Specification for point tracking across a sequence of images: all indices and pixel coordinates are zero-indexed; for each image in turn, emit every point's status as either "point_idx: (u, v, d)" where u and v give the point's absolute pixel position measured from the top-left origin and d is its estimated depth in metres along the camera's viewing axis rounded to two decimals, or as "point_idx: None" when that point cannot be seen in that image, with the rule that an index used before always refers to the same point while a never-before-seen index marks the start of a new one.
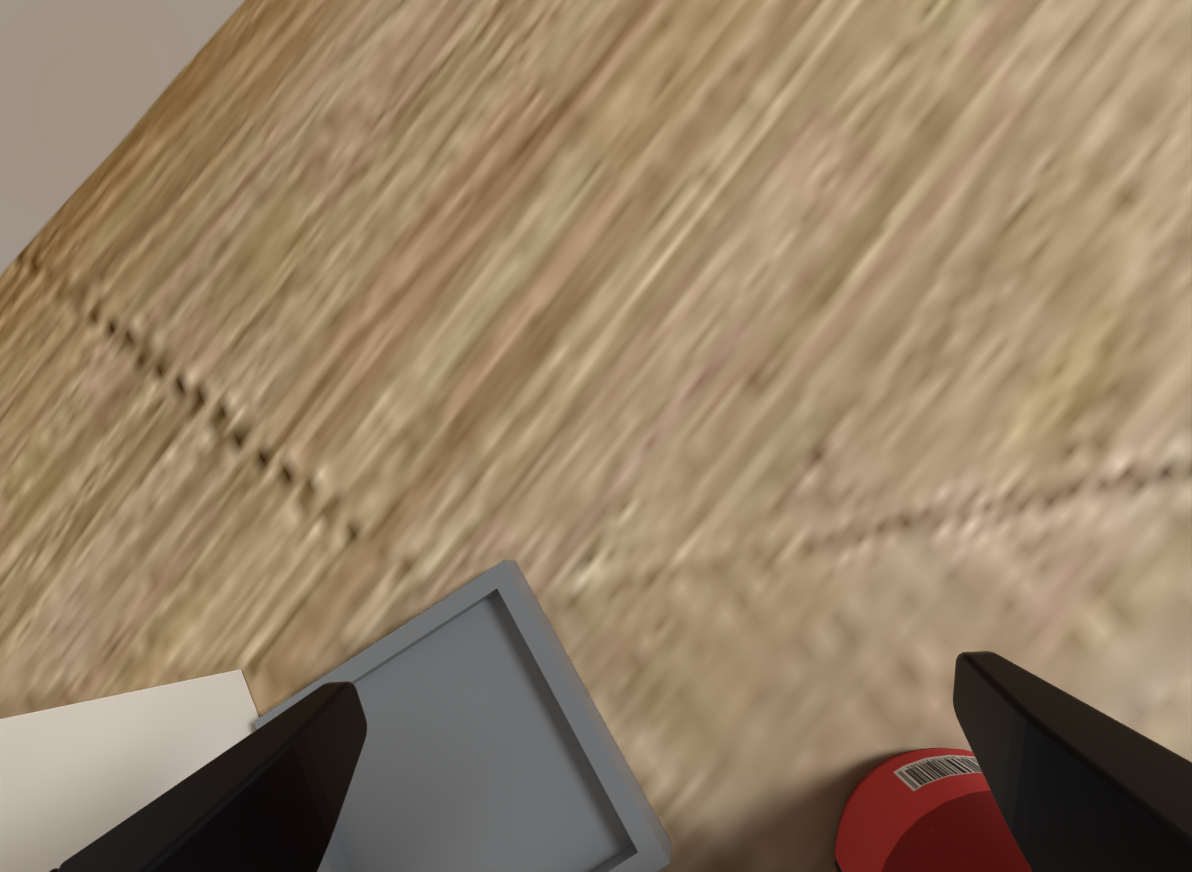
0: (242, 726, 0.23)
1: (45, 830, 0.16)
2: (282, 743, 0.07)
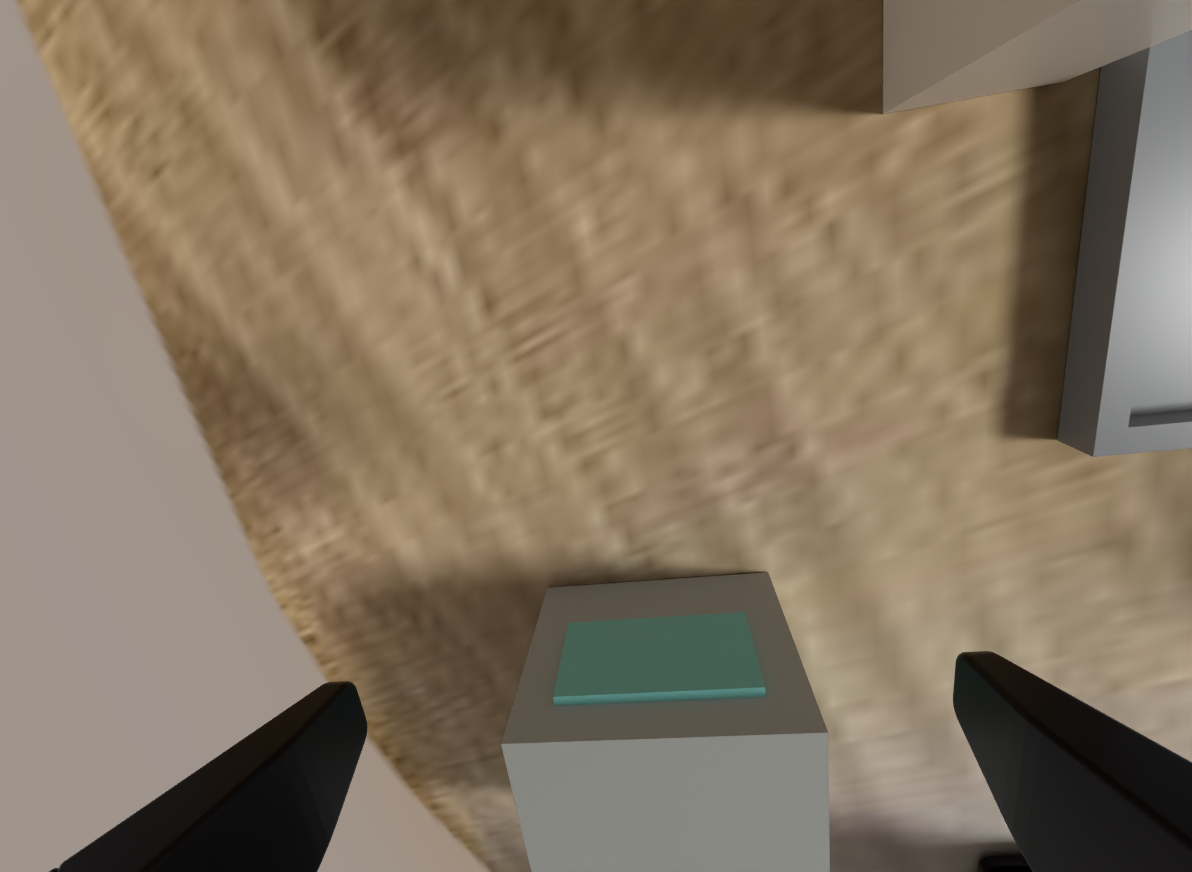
0: None
1: None
2: (282, 743, 0.07)
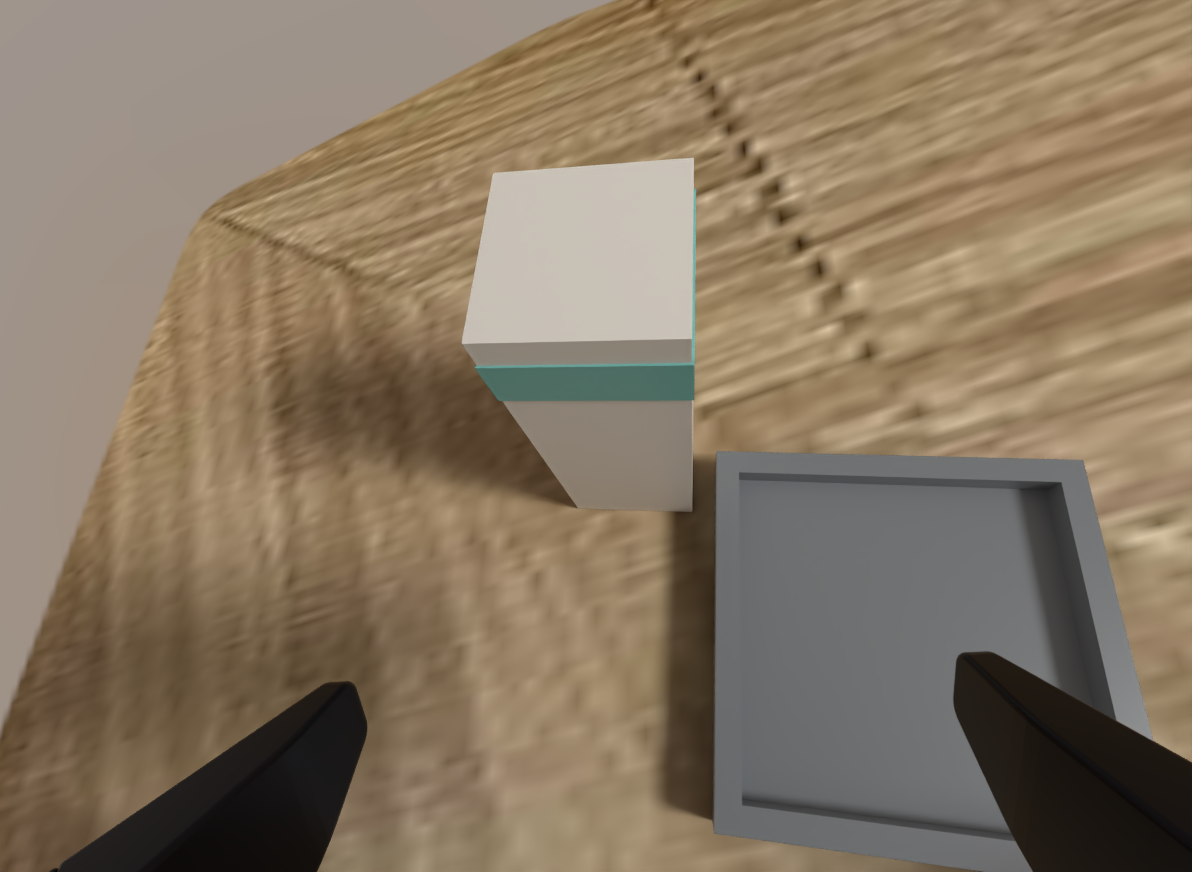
0: None
1: None
2: (282, 743, 0.07)
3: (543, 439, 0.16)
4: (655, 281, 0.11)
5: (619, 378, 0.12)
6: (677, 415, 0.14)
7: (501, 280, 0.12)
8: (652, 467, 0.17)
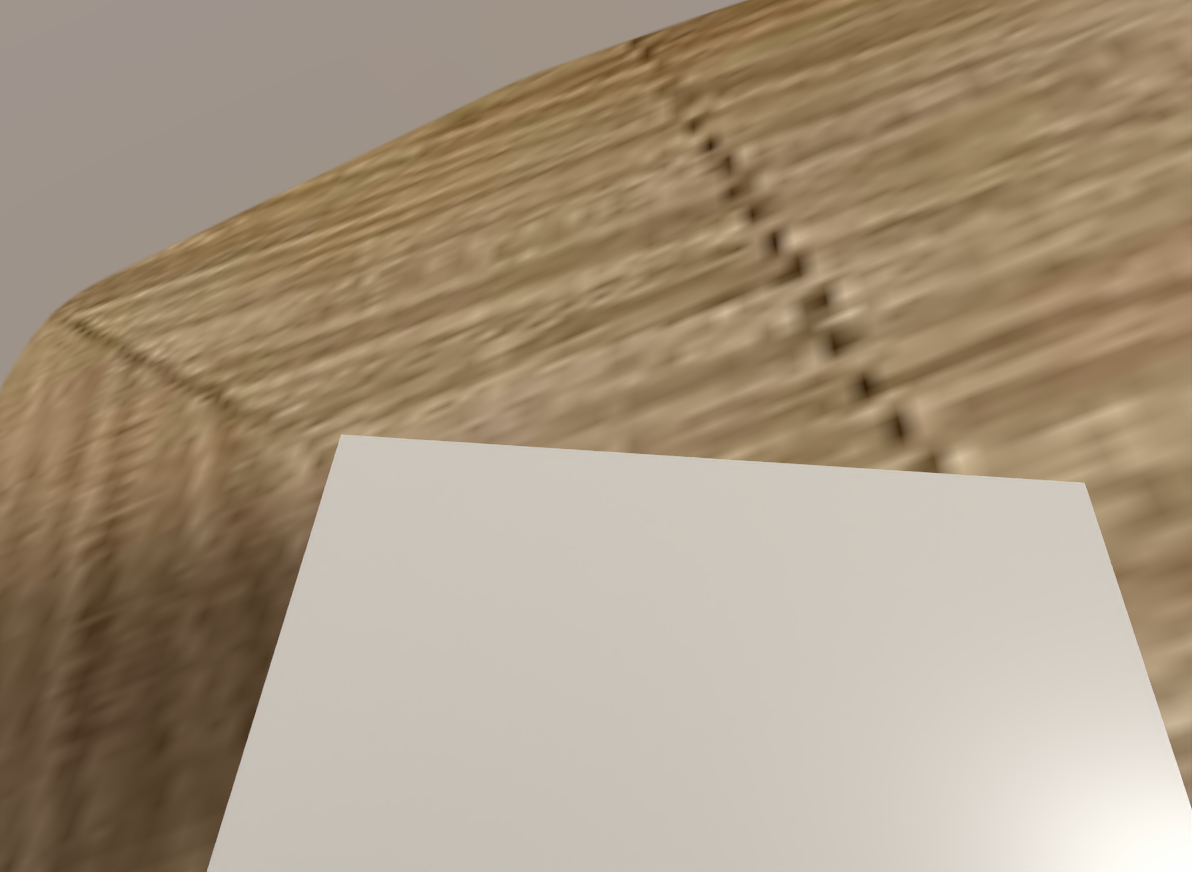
0: None
1: None
2: None
3: None
4: None
5: None
6: None
7: None
8: None
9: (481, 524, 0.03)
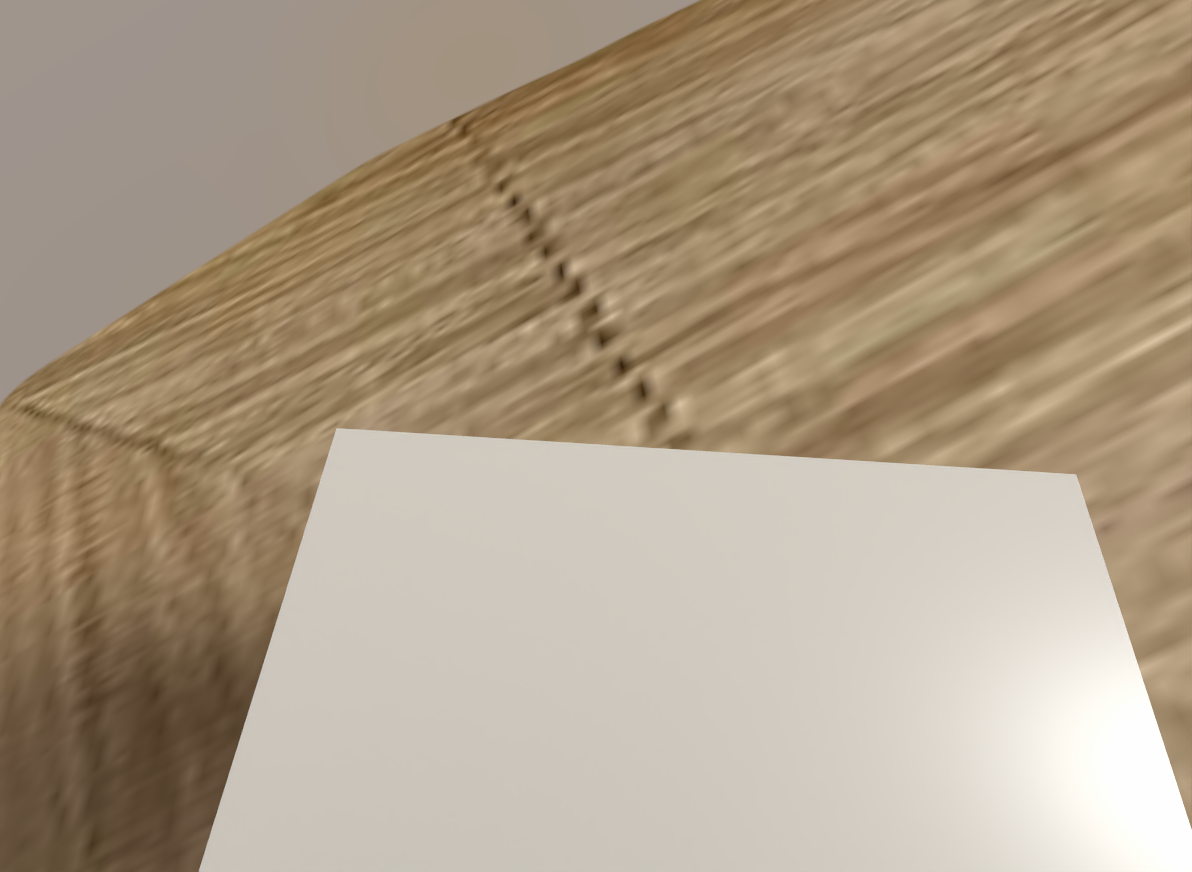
0: None
1: None
2: None
3: None
4: None
5: None
6: None
7: None
8: None
9: (475, 517, 0.03)
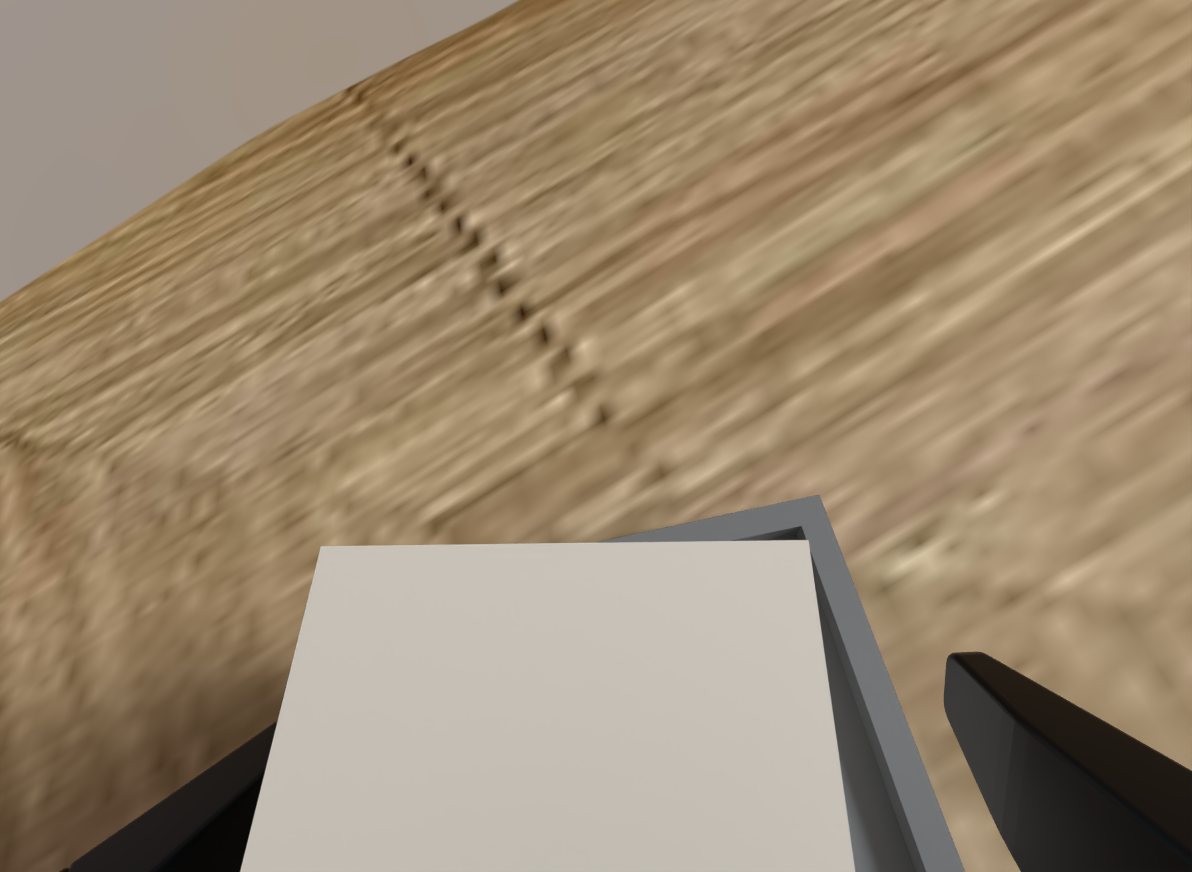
0: None
1: None
2: None
3: None
4: None
5: None
6: None
7: None
8: None
9: (406, 601, 0.05)
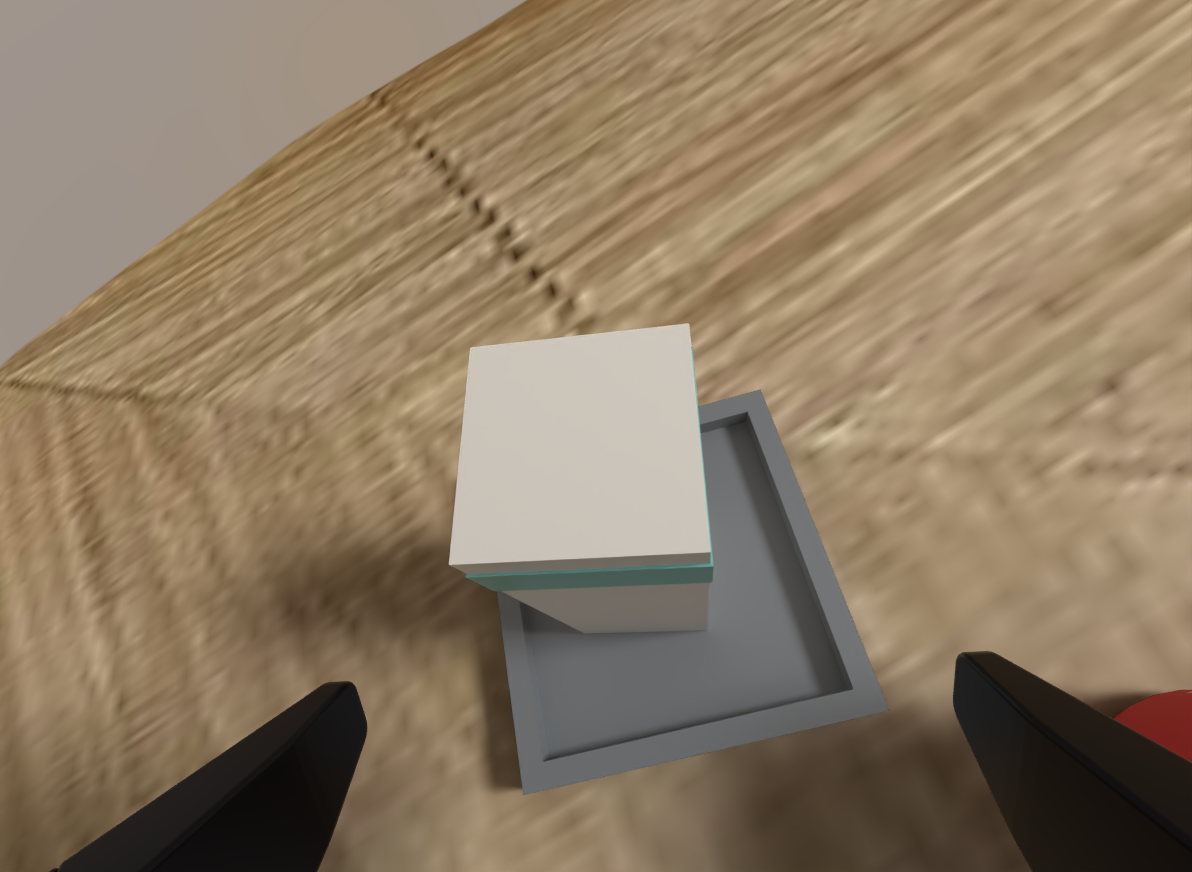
0: None
1: None
2: (282, 743, 0.07)
3: (545, 605, 0.14)
4: (662, 477, 0.10)
5: (629, 574, 0.11)
6: (693, 588, 0.12)
7: (488, 481, 0.10)
8: (664, 612, 0.16)
9: (513, 364, 0.11)
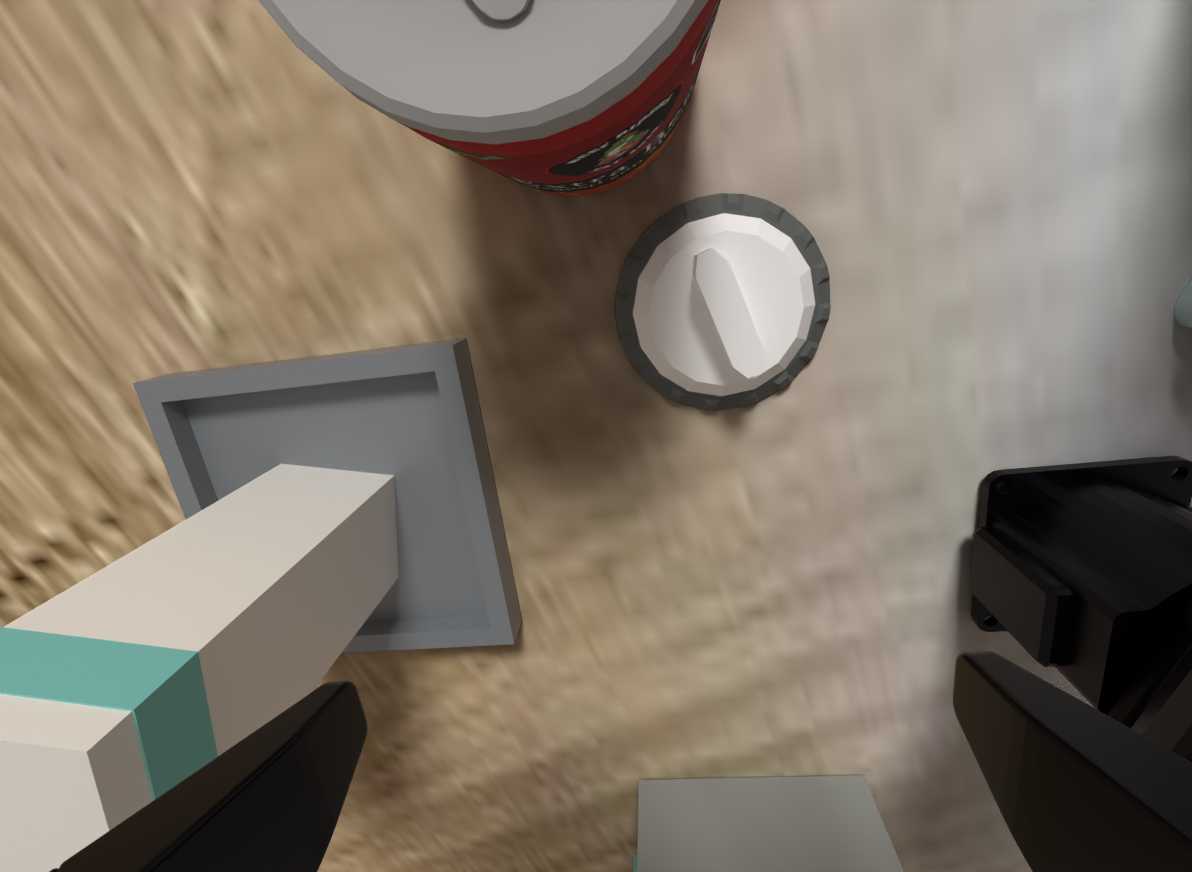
0: (327, 479, 0.21)
1: (195, 607, 0.13)
2: (282, 743, 0.07)
3: None
4: (24, 772, 0.10)
5: (171, 745, 0.12)
6: (230, 637, 0.13)
7: None
8: (323, 577, 0.17)
9: None
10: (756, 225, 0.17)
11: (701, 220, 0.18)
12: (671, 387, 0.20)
